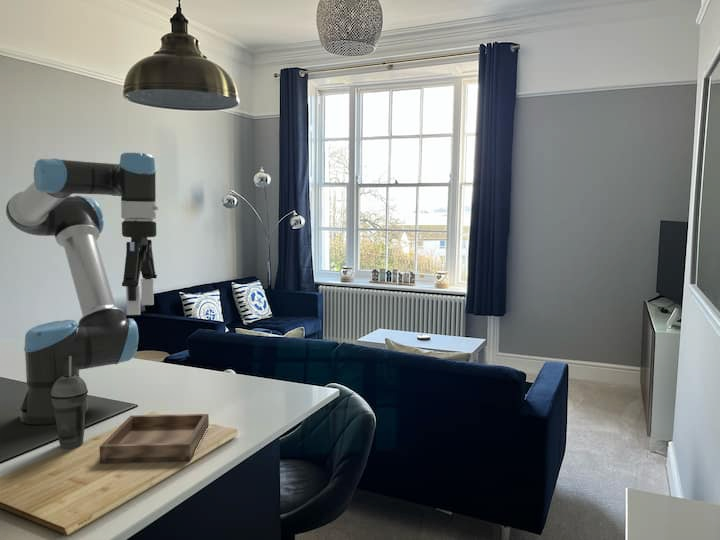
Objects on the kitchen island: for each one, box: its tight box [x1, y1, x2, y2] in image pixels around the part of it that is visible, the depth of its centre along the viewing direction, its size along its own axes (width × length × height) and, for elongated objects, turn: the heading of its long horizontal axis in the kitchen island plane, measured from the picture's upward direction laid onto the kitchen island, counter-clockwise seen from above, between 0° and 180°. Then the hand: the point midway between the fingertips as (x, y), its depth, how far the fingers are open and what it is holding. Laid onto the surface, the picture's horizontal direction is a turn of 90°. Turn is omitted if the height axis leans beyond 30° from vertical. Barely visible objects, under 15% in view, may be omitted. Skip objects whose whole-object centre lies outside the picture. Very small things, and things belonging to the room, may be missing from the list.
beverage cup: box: [51, 356, 89, 450], centre depth 119 cm, size 7×7×20 cm
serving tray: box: [98, 413, 210, 464], centre depth 120 cm, size 18×18×4 cm
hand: (141, 309), depth 130 cm, fingers open, 13 cm apart
